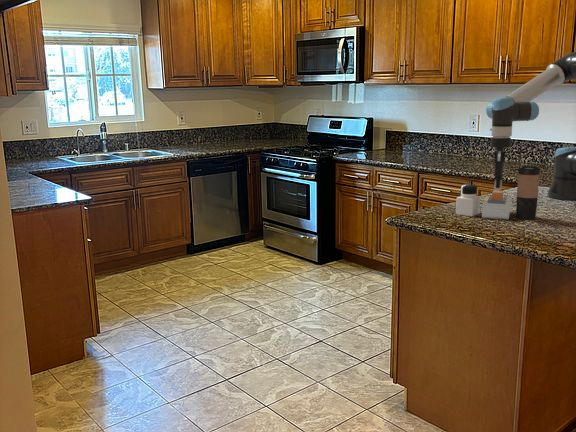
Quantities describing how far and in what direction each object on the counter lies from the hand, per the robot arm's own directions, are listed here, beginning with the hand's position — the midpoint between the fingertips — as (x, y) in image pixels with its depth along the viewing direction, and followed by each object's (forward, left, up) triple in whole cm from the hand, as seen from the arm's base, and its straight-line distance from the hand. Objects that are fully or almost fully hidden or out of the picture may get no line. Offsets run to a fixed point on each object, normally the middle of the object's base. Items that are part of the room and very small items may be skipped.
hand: (497, 195), depth 229 cm
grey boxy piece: (0, +2, -8) cm, 8 cm away
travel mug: (-11, +4, -8) cm, 14 cm away
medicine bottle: (+11, +4, -8) cm, 14 cm away
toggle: (0, +2, -2) cm, 3 cm away
